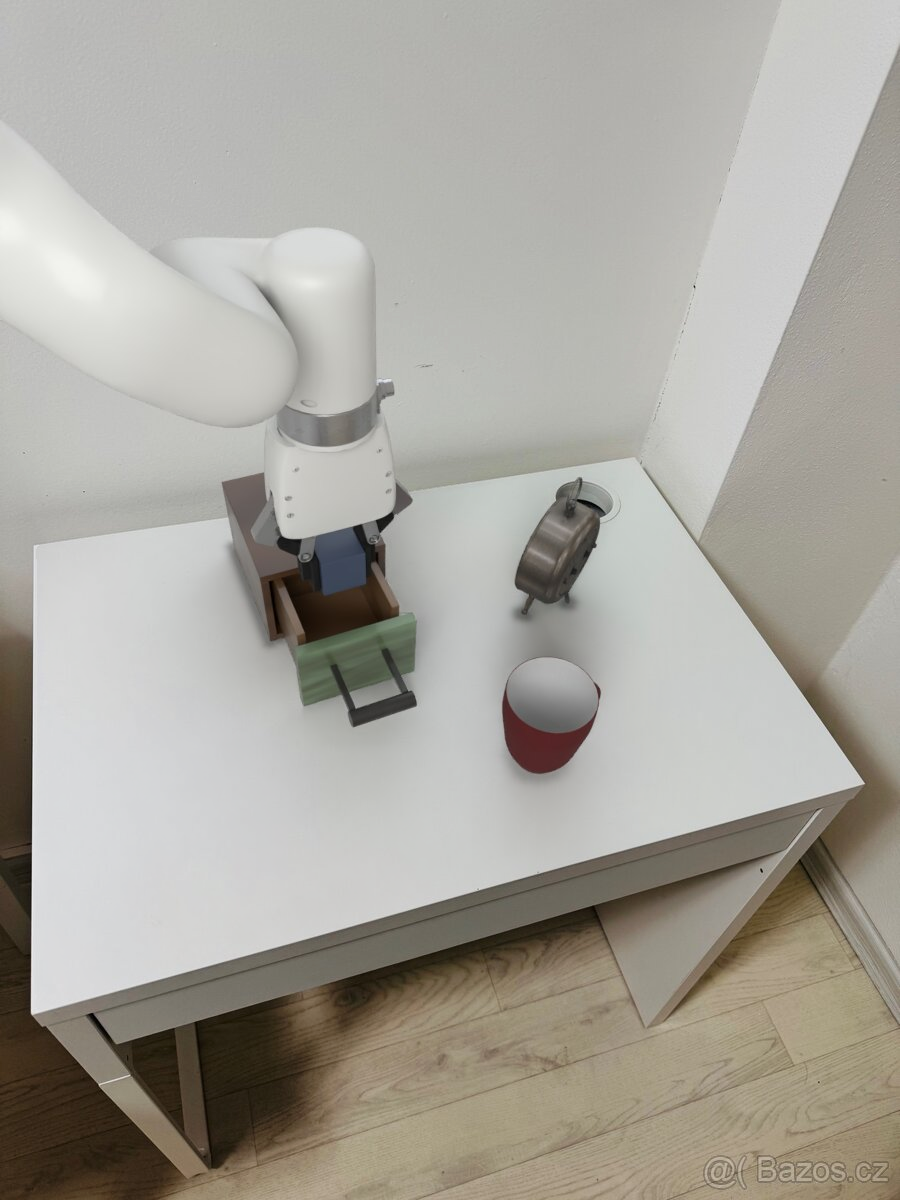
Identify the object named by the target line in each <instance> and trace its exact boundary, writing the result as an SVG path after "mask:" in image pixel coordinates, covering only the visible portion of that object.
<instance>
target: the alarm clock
mask: <svg viewBox="0 0 900 1200" xmlns="http://www.w3.org/2000/svg"><path fill="white" fill-rule="evenodd" d="M583 482H584V481H583V477H582V476H578V477H577V478H576V479H575V481H573V484H572V486H571V488H570V490H569V492H568V494H567V495H564V496H560V497H558V498H557V499H556V500H554V502H553V503H552V504H551V505H550V506H549V507H548V509H547V510H546V511H545V512H544V514H543V516H542V517H541V519H540V520H539V521H538V524H537V525H536V527H535V528H534V530H533V532H532V533H531V535H530V536H529V539H528V541H527V544H526V545H525V546H524V549H523V552H522V553H521V557H520V559H519V561H518V565H517V568H516V570H515V571H516V572H515V576H514V586H515V588H516V589H517V590H518V591H521V592H523V593H525V594H526V595H528V597H527V599H526V601H525V604H524V607H523V609H522V610H521V614H522V615H524V616H525V615H527V614H528V610H529V608H530V607H531V606H532V604H533V602H534V601H535V599H536V600H538V601H539V602H541V603H542V604H545V605H553V604H555V603H558V602H560V600H561V599H562V598H564V600H565V602H566V603H567V605H568V604H570V601H571V599H570V594H569V593H570V592H571V590H572V587H573V586H574V584H575V583H576V581H577V579H578V578H579V576H580V575H581V573H582V571H583V570H584V568H585V566H586V564H587V563H588V560H589V558H590V556H591V554H592V553H593V550H594V549H596V548H597V545H598V543H596V542H597V540H598V536H599V533H600V529H601V518H600V515H599V514H598V512H597V511H596V510H595V509H592V508H591V507H589V506H587V505H585V504H582V503H581V502H578V501H577V500H578V498H579V496H580V494H581V491H582V487H583ZM578 484H579V485H578ZM577 485H578V489H577V491H576V494H575V497H574V499H573V498H572V495H573V492H574V490H575V488H576V486H577Z"/></svg>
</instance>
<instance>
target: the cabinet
mask: <svg viewBox="0 0 900 1200" xmlns="http://www.w3.org/2000/svg"><path fill="white" fill-rule="evenodd" d="M221 486H222V487H221V488H222V492H223V497H224V503H225V507H226V513H227V517H228V522H229V528H230V533H231V539H232V544H233V548H234V551H235V553H236V556H237V559H238V561H239V564H240V566H241V569H242V572H243V574H244V577H245V579H246V582H247V585H248V587H249V590H250V593H251V596H252V597H253V598H252V599H253V600H254V602H255V603H254V604H255V605H256V608H257V611H258V613H259V616H260V618H261V621H262V623H263V626H264V629H265V632H266V634H267V636H268V639H269V642H274V641H278V640H281V639H285V638H284V635H283V633H282V630H281V628H280V625H279V623H278V620H277V618H276V615H275V613H274V610H273V605H272V599H271V592H270V586H269V581H272V580H275V579H279V578H283V577H286V576H290V575H294V574H298V573H299V569H298V562H297V556H295V555H292V554H290V553H288V552H285V551H283V550H281V549H279V547H277V546H274V547H272V546H268V545H263V544H258V543H256V542H255V540H254V538H253V535H252V533H251V529H252V527H253V525H254V523H255V522H256V520H257V518H258V517H259V515H260V513H261V512H262V510H263V508H264V507H265V505H266V503H267V498H266V491H265V475H264V471H263V472H260V473H259V472H258V473H255V474H251V475H247V476H242V477H238V478H237V477H236V478H233V479H228V480H224V481H221ZM278 527H279V526H277V527H276V528H278ZM352 528H353V526H352ZM381 535H382V534H380V540H379V541H378V542H377V543H376V544H375V560H376V562H377V564H378V566H379V568H380V570H381V571H382V573H383V575H384V577H385V578H386V543H385V541H384V539H383V537H382V536H381Z"/></svg>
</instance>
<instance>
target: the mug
mask: <svg viewBox="0 0 900 1200" xmlns="http://www.w3.org/2000/svg"><path fill="white" fill-rule="evenodd" d="M601 695H602V690H601V687H600V686H599V684H598V683H596V682H595V681H594V680H593V678H592V677H591V676H590V674H589V673H587V672H586V671H585V670H584V669H583V668H581V666H580V665H578V664H576V663H574V662H573V661H569V660H567V659H564V658H560V657H555V656H538V657H534V658H531V659H527V660H525V661H523V662H521V663H520V664H518V665H517V666H516V667H515V668H514V669H513V670H512V671H511V673H509V676H508V678H507V680H506V683H505V687H504V691H503V697H502V703H501V714H502V715H501V716H502V725H503V733H504V741H505V745H506V748H507V751H508V752H509V754H510V756H511V757H512V759H513V760H514V761H515V762H516V763H517V765H518V766H520V767H521V768H522V769H523V770H525V771H526V772H528V773H530V774H536V775H544V774H548V773H552V772H554V771H557V770H559V769H561V768H562V767H564V766H565V765H567V764H568V763H569V762H570V761H571V759H572V758H573V757H574V756H575V754H576V753H577V752H578V750H580V748H581V746H582V745H583V743H584V742H585V740H586V739H587V738H588V736H589V734H590V733H591V731H592V729H593V727H594V723H595V721H596V717H597V715H598V711H599V706H600V700H601Z"/></svg>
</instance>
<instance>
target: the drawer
mask: <svg viewBox="0 0 900 1200" xmlns="http://www.w3.org/2000/svg"><path fill="white" fill-rule="evenodd" d="M269 586H270V592H271V599H272V605H273V610H274V613H275V615H276V618H277V620H278V623H279V625H280V628H281V630H282V633H283V635H284V638H283V639H284V640H285V643H286V645H287V648H288V650H289V653H290V655H291V657H292V660H293V662H294V665H295V669H296V677H297V684H298V692H299V698H300V701H301V703H302V706H303V707H308V706H311V705H315V704H317V703H320V702H323V701H327V700H329V699H333V698H336V697H339V696H342V699H343V701H344V703H345V706H346V709H347V717H348V721H349V723H350V725H351V727H352V729H353V728H356V727H359V726H362V725H365V724H368V723H372V722H374V721H378V720H380V719H383V718H386V717H389V716H392V715H395V714H398V713H401V712H405V711H408V710H410V709H413V708H416V707H417V706H418V702H417V698H416V694H415V692H414V691H413V690H409V688H408V687H407V684H406V683H405V680H404V677H402V676H405V675H408V674H410V673H414V672H415V669H416V668H415V667H416V644H417V619H416V617H415V615H414V613H413V612H408V613H405V614H401V615H400V603H399V601H398V600H397V598H396V596H395V594H394V593H393V590H392V589H391V587H390V585H389V583H388V581H387V578H386V576H385V577H384V575H383V573H382V571H381V570H380V568H379V566H378V564H377V562H376V560H375V562H371V577H368V578H366V584H365V585H361V586H358V587H354V588H351V589H347V590H343V591H340V592H336V593H333V594H329V595H326V596H324V595H323V593H322V591H321V589H320V591H318V592H314V591H313V588H312V586H311V584H310V582H309V580H306V581H303V580H302V578H301V576H300V573H298V574H294V575H290V576H286V577H283V578H279V579H275V580H272V581H269ZM392 679H393V680H394V682H395V684H396V686H397V688H398V690H399V692H400V693H399V694H396V695H393V696H390V697H386V698H384V699H380V700H378V701H374V702H372V703H368V704H365V705H362V706H360V707H357V708H356V705H355V703H354V700H353V698H352V695H351V694H350V693H352V692H354V691H358V690H360V689H364V688H367V687H370V686H373V685H377V684H380V683H383V682H387V681H389V680H392Z"/></svg>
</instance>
